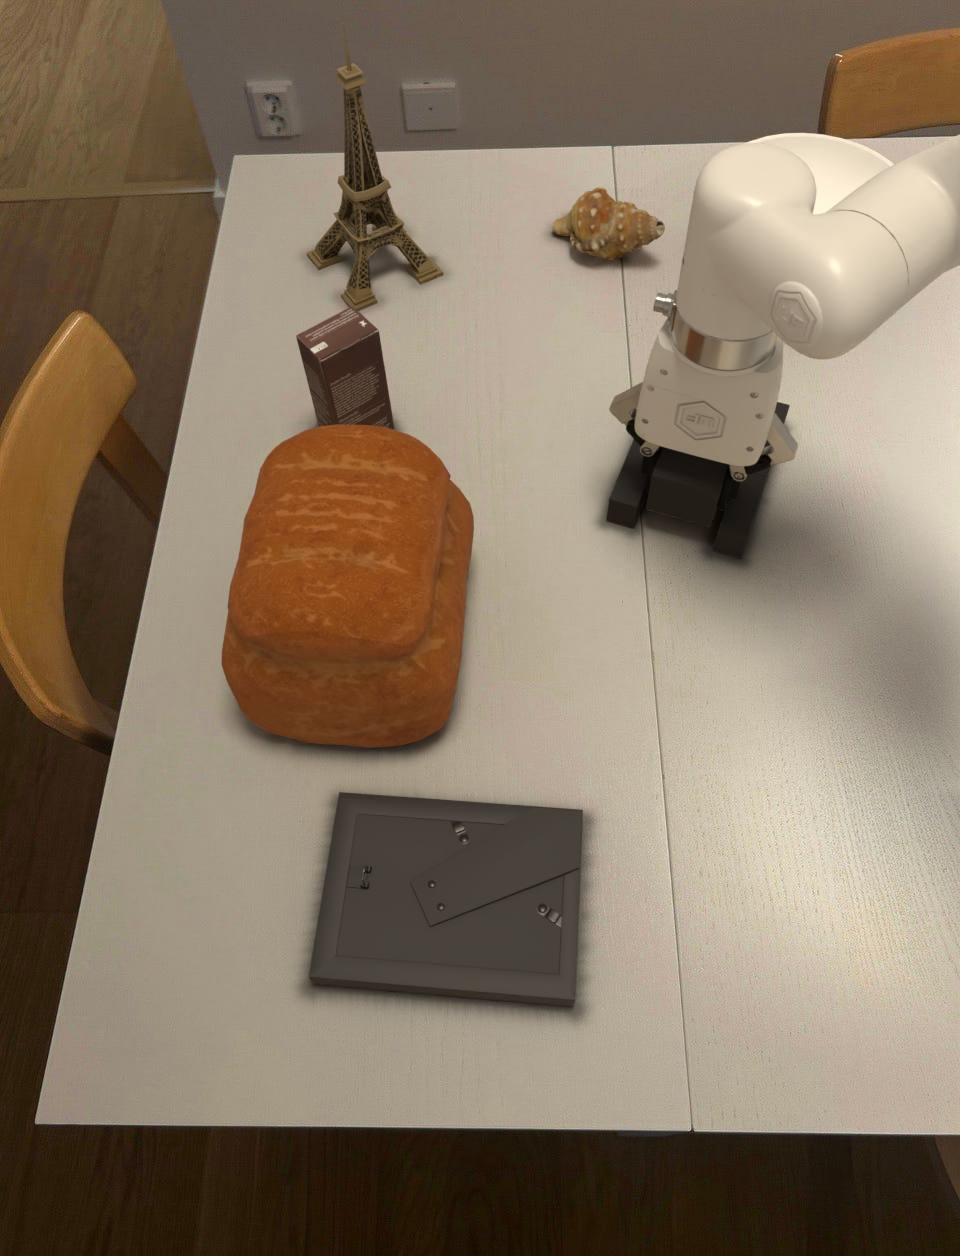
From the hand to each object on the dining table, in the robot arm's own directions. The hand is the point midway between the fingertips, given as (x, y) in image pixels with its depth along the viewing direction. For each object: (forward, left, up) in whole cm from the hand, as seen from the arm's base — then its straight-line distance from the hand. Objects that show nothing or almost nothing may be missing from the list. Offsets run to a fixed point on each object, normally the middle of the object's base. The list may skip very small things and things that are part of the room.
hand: (688, 486), depth 91 cm
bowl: (-2, -33, -3) cm, 34 cm away
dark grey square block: (0, 0, 0) cm, 0 cm away
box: (+31, +2, -3) cm, 31 cm away
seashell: (+17, -31, -3) cm, 36 cm away
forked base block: (0, -4, -3) cm, 6 cm away
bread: (+21, +22, -3) cm, 30 cm away
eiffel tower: (+39, -20, -3) cm, 44 cm away
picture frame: (+6, +40, -3) cm, 40 cm away
